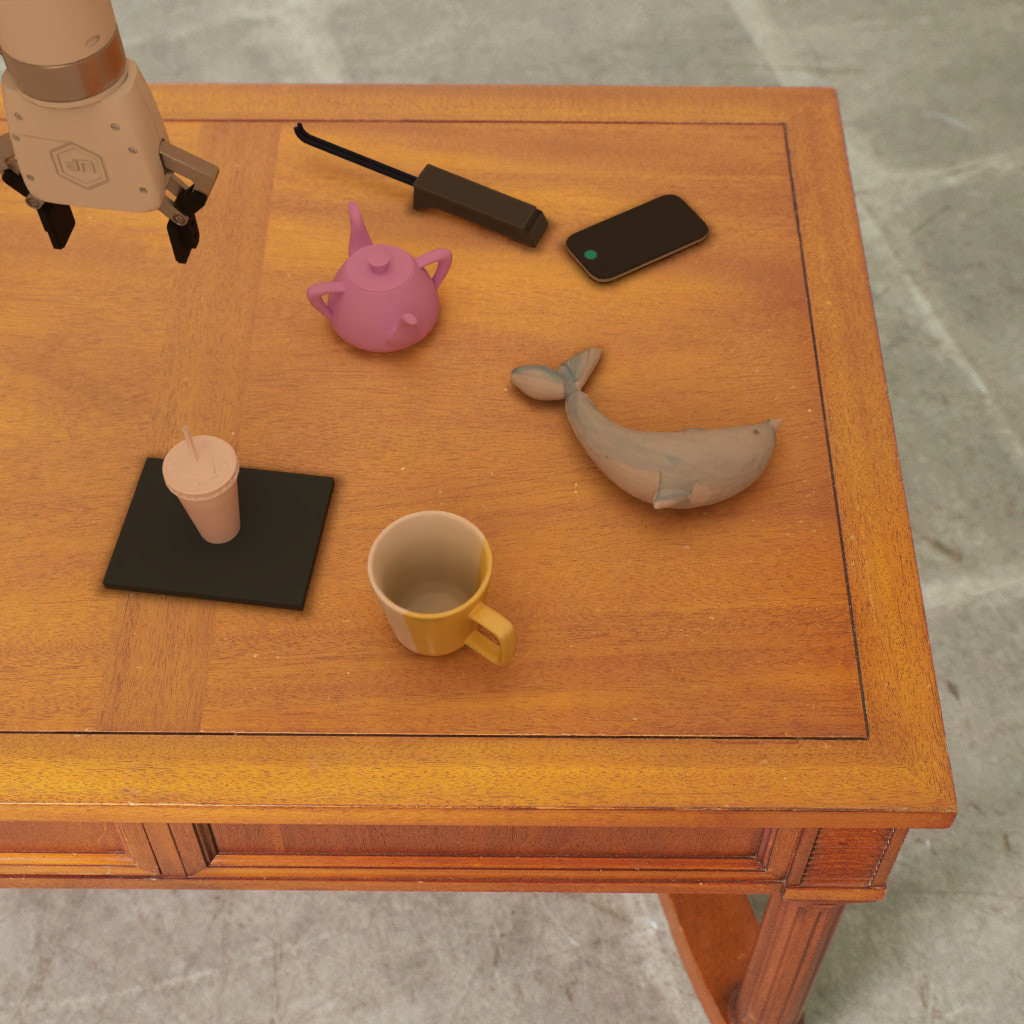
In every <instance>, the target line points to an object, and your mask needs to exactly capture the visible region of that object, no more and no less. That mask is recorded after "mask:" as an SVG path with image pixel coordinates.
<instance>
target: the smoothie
mask: <svg viewBox="0 0 1024 1024" xmlns="http://www.w3.org/2000/svg"><path fill="white" fill-rule="evenodd" d="M181 431H182V434H183V437H184V439H182V440H181V441H179V442H178V443H176V444H175V445H174V446H172V447H171V448H170V449H169V451H168V452H167V454H166V455H165V457H164V458H163V459H164V462H163V467H162V471H163V476H164V480H165V483H166V486H167V487H168V488H169V490H170V491H171V492H172V493H174V494H175V495H176V496H177V497H178V498H179V500H180V502H181V503H182V505H183V506H184V508H185V510H186V511H187V513H188V515H189V516H190V518H191V520H192V521H193V523H194V524H195V526H196V528H197V529H198V531H199V533H200V534H201V536H202V537H203V538H204V539H205V540H206V541H208V542H210V543H214V544H221V543H225V542H228V541H230V540H232V539H233V538H234V537H235V536H236V535H237V534H238V532H239V530H240V513H239V501H238V488H237V476H238V473H239V467H240V461H239V458H238V455H237V454H236V451H235V449H234V447H233V446H232V445H231V444H230V443H229V442H228V441H226V440H225V439H223V438H220V437H218V436H214V435H207V434H204V435H203V434H202V435H195V436H192V433H191V431H190V428H189V426H188V425H184V426H183V427H181Z"/></svg>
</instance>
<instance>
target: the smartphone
mask: <svg viewBox="0 0 1024 1024" xmlns="http://www.w3.org/2000/svg"><path fill="white" fill-rule="evenodd" d="M708 227H709V226H708V225H707V223H706V221H704V220H703V219H702V218H701V217H700V216H699V215H698V213H697V212H695V211H694V210H693V208H692V207H691V206H690V205H689V204H687V202H686V201H685V200H684V199H682V198H681V197H680V196H679V195H677V194H664V195H661V196H659V197H656V198H654V199H652V200H648V201H646V202H645V203H642V204H640V205H637V206H635V207H632V208H630V209H628V210H625V211H623V212H621V213H618V214H616V215H614V216H611V217H609V218H607V219H604V220H602V221H600V222H597V223H595V224H593V225H590V226H588V227H586V228H582V229H581V230H579V231H576V232H574V233H573V234H571V235H570V236H568V237H567V239H566V240H565V246H566V247H565V248H566V250H567V252H568V253H569V254H570V255H571V257H572V258H573V259H574V260H575V262H577V264H578V265H579V266H580V267H581V268H582V270H583V271H585V273H586V274H587V275H588V276H589V277H591V279H592V280H594V281H595V282H597V283H608V282H613V281H615V280H617V279H619V278H621V277H624V276H626V275H628V274H631V273H633V272H635V271H638V270H639V269H642V268H644V267H646V266H649V265H651V264H653V263H656V262H657V261H660V260H662V259H664V258H666V257H669V256H671V255H673V254H676V253H678V252H680V251H682V250H684V249H687V248H689V247H691V246H693V245H696V244H698V243H701V242H702V241H704V240H705V239H706V238H707V236H708V234H709V231H710V230H709V228H708Z"/></svg>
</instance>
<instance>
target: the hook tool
mask: <svg viewBox="0 0 1024 1024" xmlns="http://www.w3.org/2000/svg"><path fill="white" fill-rule="evenodd" d="M293 131H294V134H295V136H296V137H297V139H299V141H301V142H302V143H303V144H305V145H307V146H310V147H312V148H316V149H317V150H321V151H323V152H325V153H327V154H330V155H333V156H335V157H338V158H341V159H343V160H345V161H349V162H350V163H353V164H355V165H357V166H361V167H362V168H365V169H368V170H370V171H373V172H375V173H378V174H380V175H383V176H385V177H388V178H390V179H393V180H395V181H397V182H401V183H403V184H405V185H408V186H411V187H413V196H412V209H413V210H415V211H424V210H432V209H433V210H434V209H437V210H439V211H442V212H444V213H447V214H449V215H452V216H454V217H456V218H459V219H462V220H464V221H467V222H469V223H472V224H475V225H477V226H479V227H482V228H485V229H487V230H489V231H491V232H494V233H497V234H499V235H501V236H504V237H506V238H509V239H511V240H513V241H516V242H519V243H522V244H524V245H526V246H528V247H532V248H536V247H537V245H538V243H539V242H540V240H541V238H542V236H543V235H544V233H545V232H546V231H547V228H548V226H549V221H548V220H547V218H546V215H545V214H544V212H543V210H540V209H538V208H537V205H534V204H531V203H530V202H526V201H523V200H522V199H519V198H516V197H514V196H511V195H508V194H506V193H503V192H502V191H499V190H496V189H494V188H491V187H488V186H486V185H484V184H480V183H478V182H475V181H473V180H470V179H468V178H465V177H463V176H460V175H458V174H456V173H453V172H450V171H448V170H446V169H444V168H441V167H438V166H435V165H433V164H430V163H426V165H425V166H424V168H423V169H422V171H420V173H419V175H418V176H415V175H413V174H411V173H408V172H405V171H403V170H401V169H399V168H395V167H394V166H391V165H388V164H385V163H383V162H381V161H378V160H376V159H373V158H370V157H368V156H366V155H363V154H361V153H358V152H356V151H353V150H350V149H348V148H345V147H343V146H340V145H338V144H336V143H334V142H333V143H332V142H330V141H329V140H325V139H323V138H320V137H318V136H315V135H314V134H310V133H309V132H308V131H307V130H305V128H304V126H303V123H302V122H297V123H296V126H294V127H293Z"/></svg>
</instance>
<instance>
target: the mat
mask: <svg viewBox="0 0 1024 1024" xmlns="http://www.w3.org/2000/svg"><path fill="white" fill-rule="evenodd" d="M164 459H165V458H161V457H151V456H150V457H149V456H147V457H146V460H145V463H144V465H143V468H142V470H141V474H140V475H139V479H138V481H137V484H136V487H135V489H134V490H135V491H134V493H133V495H132V499H131V502H130V504H129V507H128V510H127V513H126V515H125V518H124V520H123V523H122V527H121V529H120V532H119V536H118V537H117V540H116V543H115V546H114V549H113V552H112V555H111V558H110V560H109V563H108V565H107V569H106V570H105V574H104V577H103V580H102V585H103V587H104V588H105V589H110V590H119V591H128V592H137V593H145V594H154V595H164V596H173V597H179V598H190V599H198V600H206V601H213V602H214V601H215V602H223V603H231V604H239V605H240V604H241V605H249V606H257V607H258V606H259V607H265V608H275V609H283V610H284V609H285V610H293V611H300V612H303V611H304V608H305V605H306V600H307V595H308V592H309V588H310V584H311V579H312V577H313V572H314V568H315V564H316V560H317V556H318V552H319V549H320V544H321V541H322V536H323V533H324V532H323V531H324V528H325V526H326V520H327V516H328V513H329V508H330V504H331V500H332V497H333V492H334V489H335V484H336V482H335V477H333V476H326V475H325V476H324V475H318V474H317V475H316V474H307V473H297V472H288V471H280V470H271V469H270V470H269V469H260V468H253V467H243V466H239V473H238V476H237V488H238V501H239V513H240V530H239V532H238V534H237V535H236V536H235V537H234V538H233V539H232V540H230V541H228V542H225V543H221V544H214V543H210V542H208V541H206V540H205V539H204V538H203V537H202V536H201V534H200V533H199V531H198V529H197V528H196V526H195V524H194V523H193V521H192V520H191V518H190V516H189V515H188V513H187V511H186V510H185V508H184V506H183V505H182V503H181V502H180V500H179V498H178V497H177V496H176V495H175V494H174V493H172V492H171V491H170V490H169V488H168V487H167V486H166V483H165V480H164V476H163V471H162V467H163V462H164Z"/></svg>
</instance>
